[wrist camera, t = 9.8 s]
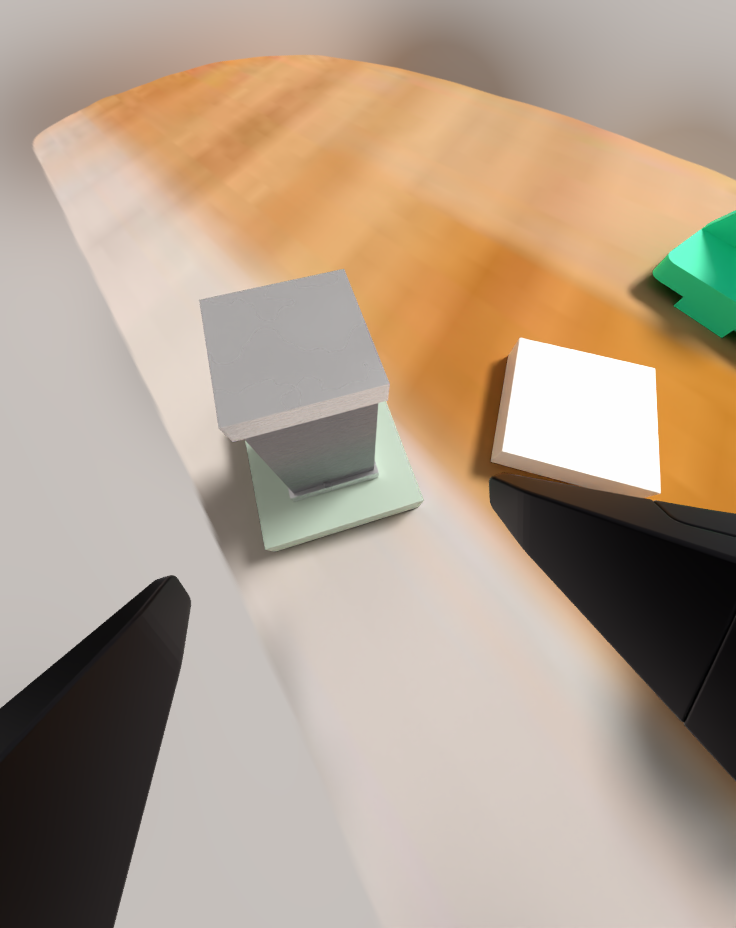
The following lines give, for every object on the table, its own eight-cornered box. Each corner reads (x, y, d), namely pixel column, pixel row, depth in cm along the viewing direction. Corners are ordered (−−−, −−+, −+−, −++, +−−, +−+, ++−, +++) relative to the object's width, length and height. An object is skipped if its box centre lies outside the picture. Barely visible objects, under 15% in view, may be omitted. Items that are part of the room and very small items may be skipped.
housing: (378, 477, 19) (389, 383, 10) (294, 502, 18) (218, 428, 9) (354, 406, 21) (343, 268, 11) (277, 427, 20) (199, 300, 11)
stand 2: (633, 500, 21) (660, 493, 19) (490, 461, 22) (502, 451, 20) (632, 384, 24) (654, 368, 22) (508, 355, 25) (519, 337, 23)
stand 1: (418, 507, 20) (423, 500, 18) (274, 551, 19) (264, 549, 17) (374, 389, 24) (375, 373, 22) (249, 421, 23) (239, 408, 21)
